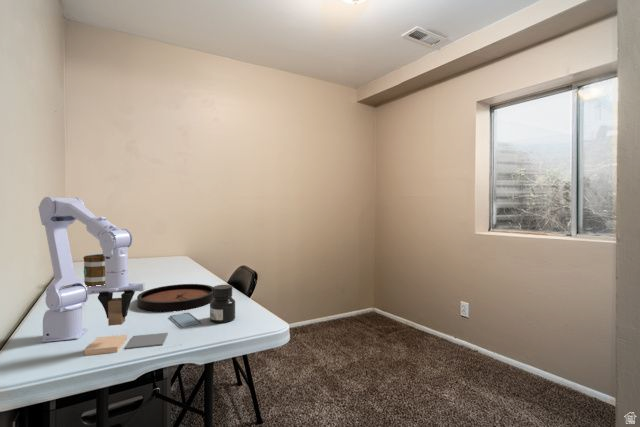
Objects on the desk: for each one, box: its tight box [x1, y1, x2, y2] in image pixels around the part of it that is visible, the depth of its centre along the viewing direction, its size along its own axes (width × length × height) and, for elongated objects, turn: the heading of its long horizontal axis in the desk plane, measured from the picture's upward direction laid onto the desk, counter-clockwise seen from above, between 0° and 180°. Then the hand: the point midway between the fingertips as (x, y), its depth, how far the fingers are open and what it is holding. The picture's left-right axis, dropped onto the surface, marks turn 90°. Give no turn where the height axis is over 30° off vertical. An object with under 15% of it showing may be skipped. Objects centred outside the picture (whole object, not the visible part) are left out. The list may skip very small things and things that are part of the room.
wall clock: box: [136, 283, 214, 313], centre depth 144 cm, size 31×4×31 cm
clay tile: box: [84, 334, 128, 356], centre depth 96 cm, size 8×2×9 cm
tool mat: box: [124, 332, 169, 350], centre depth 101 cm, size 10×9×1 cm
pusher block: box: [107, 297, 126, 327], centre depth 97 cm, size 3×3×7 cm
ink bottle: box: [209, 284, 236, 324], centre depth 120 cm, size 10×9×12 cm
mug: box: [83, 253, 105, 287], centre depth 176 cm, size 20×14×15 cm
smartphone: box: [168, 312, 203, 330], centre depth 119 cm, size 7×1×15 cm
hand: (117, 316), depth 97 cm, fingers closed on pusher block, 3 cm apart
